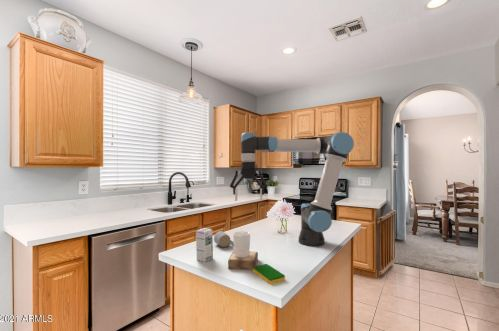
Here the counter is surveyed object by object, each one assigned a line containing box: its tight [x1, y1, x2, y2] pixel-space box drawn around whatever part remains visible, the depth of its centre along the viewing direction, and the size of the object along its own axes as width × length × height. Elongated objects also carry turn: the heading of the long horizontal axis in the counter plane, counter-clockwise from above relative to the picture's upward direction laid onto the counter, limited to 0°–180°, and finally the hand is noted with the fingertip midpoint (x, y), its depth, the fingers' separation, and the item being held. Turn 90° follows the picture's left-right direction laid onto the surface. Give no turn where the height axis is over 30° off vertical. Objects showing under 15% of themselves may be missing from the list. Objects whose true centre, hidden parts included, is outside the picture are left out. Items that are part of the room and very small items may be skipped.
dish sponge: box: [252, 263, 286, 285], centre depth 102 cm, size 7×14×2 cm, turn 28°
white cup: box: [232, 231, 251, 258], centre depth 114 cm, size 8×8×10 cm
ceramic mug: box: [213, 230, 234, 248], centre depth 142 cm, size 11×8×8 cm
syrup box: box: [195, 227, 214, 263], centre depth 121 cm, size 6×6×14 cm
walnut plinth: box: [227, 250, 259, 271], centre depth 114 cm, size 12×12×4 cm
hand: (248, 200), depth 133 cm, fingers open, 13 cm apart
